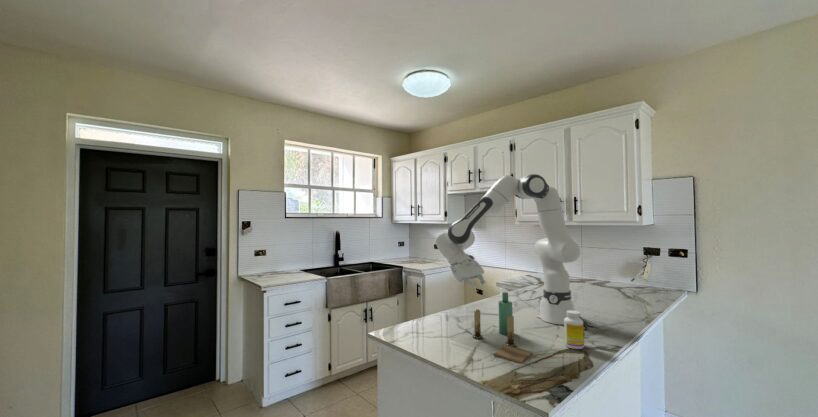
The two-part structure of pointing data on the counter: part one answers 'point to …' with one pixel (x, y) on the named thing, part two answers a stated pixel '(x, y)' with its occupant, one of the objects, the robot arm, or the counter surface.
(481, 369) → the counter surface
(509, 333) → the post
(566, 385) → the counter surface
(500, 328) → the bottle
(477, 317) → the post
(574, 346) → the supplement bottle
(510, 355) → the plate
